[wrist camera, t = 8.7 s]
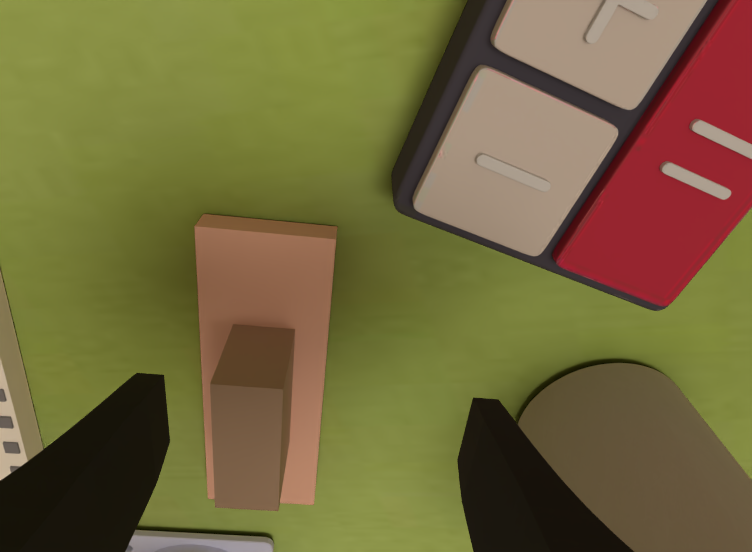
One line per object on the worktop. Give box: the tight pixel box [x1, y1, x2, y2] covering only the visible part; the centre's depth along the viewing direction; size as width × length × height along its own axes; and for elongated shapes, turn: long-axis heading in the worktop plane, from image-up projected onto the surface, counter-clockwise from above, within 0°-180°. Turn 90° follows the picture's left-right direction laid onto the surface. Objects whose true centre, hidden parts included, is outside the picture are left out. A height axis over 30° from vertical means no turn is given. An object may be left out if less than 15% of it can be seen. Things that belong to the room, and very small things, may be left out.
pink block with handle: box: [195, 214, 337, 511], centre depth 21 cm, size 14×5×5 cm, turn 174°
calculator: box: [392, 0, 752, 311], centre depth 16 cm, size 11×4×15 cm
